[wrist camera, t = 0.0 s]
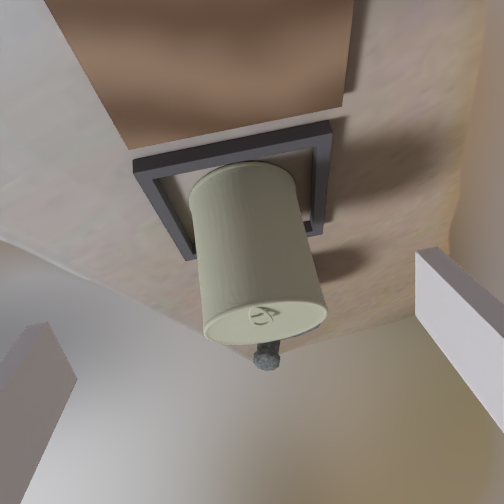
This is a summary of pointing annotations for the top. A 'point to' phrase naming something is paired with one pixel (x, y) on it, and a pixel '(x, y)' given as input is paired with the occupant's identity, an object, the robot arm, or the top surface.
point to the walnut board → (207, 61)
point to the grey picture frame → (235, 152)
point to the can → (253, 256)
